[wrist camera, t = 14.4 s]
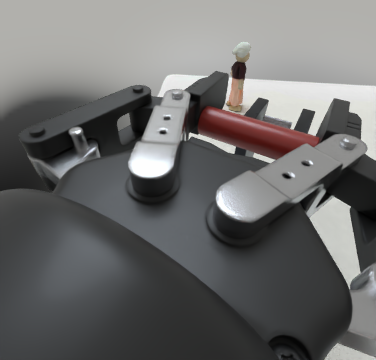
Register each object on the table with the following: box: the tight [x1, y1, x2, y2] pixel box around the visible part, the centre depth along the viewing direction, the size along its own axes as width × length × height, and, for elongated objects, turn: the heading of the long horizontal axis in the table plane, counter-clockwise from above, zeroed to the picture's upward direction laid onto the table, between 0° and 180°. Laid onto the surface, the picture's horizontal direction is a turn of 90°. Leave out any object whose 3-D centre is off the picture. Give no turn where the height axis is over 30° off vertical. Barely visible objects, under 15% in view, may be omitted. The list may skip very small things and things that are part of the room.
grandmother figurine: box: [226, 42, 251, 111], centre depth 48 cm, size 8×4×13 cm, turn 17°
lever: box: [198, 106, 320, 160], centre depth 16 cm, size 12×6×2 cm, turn 151°
